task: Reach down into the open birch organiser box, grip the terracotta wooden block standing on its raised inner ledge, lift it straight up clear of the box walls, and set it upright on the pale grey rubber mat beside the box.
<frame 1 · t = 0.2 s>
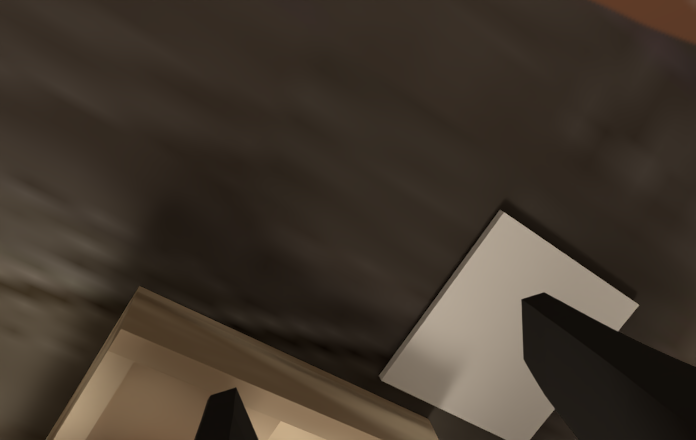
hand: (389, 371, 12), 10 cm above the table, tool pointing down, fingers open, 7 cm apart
grey mat: (510, 337, 26), on the table
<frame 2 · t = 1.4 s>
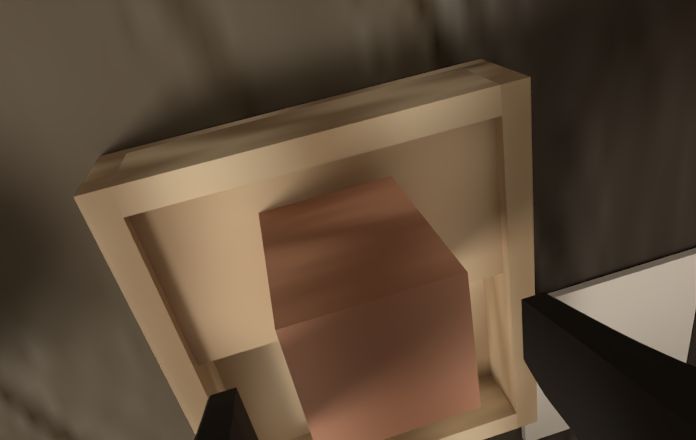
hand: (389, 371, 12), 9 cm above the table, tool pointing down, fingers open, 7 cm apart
organiser box: (341, 284, 22), on the table
terracotta block: (339, 251, 18), point 3 cm above the table, touching organiser box
grey mat: (604, 348, 27), on the table
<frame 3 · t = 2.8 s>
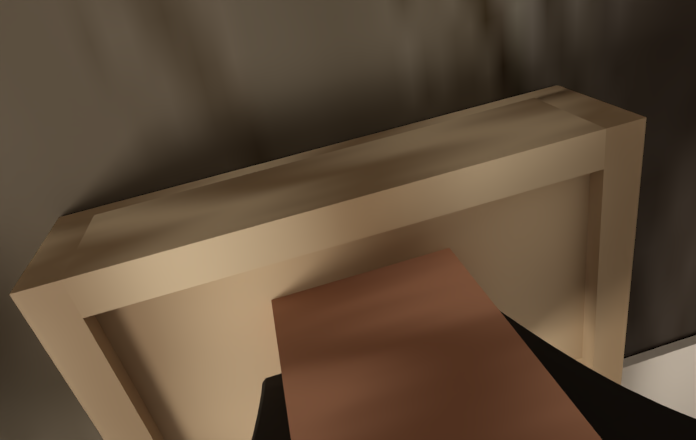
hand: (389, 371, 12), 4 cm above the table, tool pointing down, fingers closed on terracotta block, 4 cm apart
organiser box: (370, 360, 18), on the table
terracotta block: (377, 342, 13), point 3 cm above the table, touching gripper, organiser box
grey mat: (674, 418, 23), on the table
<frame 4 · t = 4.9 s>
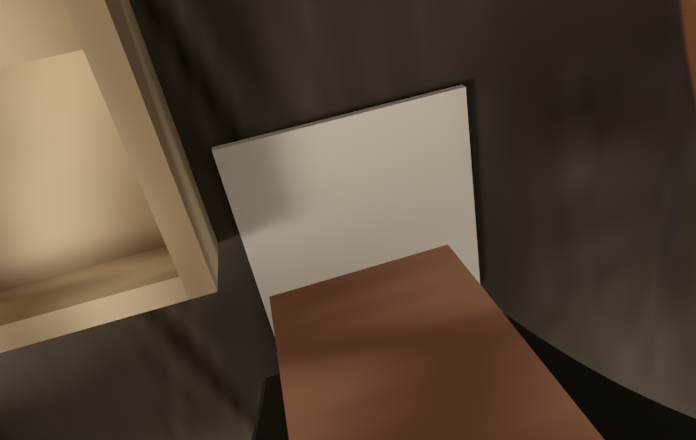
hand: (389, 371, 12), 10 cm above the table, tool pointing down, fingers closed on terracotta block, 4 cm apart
terracotta block: (375, 339, 13), point 9 cm above the table, touching gripper
grey mat: (362, 225, 22), on the table
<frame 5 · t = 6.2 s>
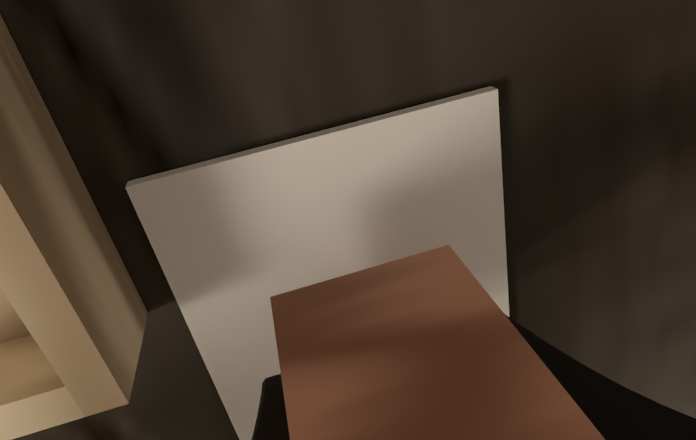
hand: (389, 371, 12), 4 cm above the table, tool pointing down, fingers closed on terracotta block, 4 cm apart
terracotta block: (376, 339, 13), point 3 cm above the table, touching gripper
grey mat: (351, 282, 16), on the table
when the fingers open (3 cm above the table, at t = 7.3 s): terracotta block drops 1 cm, resting on grey mat.
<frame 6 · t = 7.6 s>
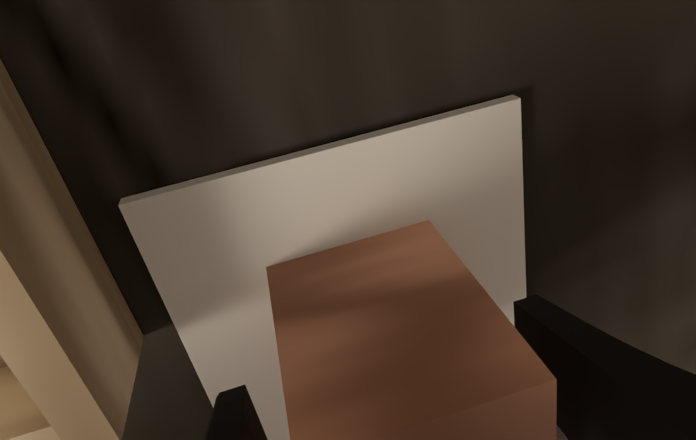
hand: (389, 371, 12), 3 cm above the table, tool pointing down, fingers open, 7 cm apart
terracotta block: (363, 308, 14), resting on grey mat
grey mat: (361, 302, 15), on the table
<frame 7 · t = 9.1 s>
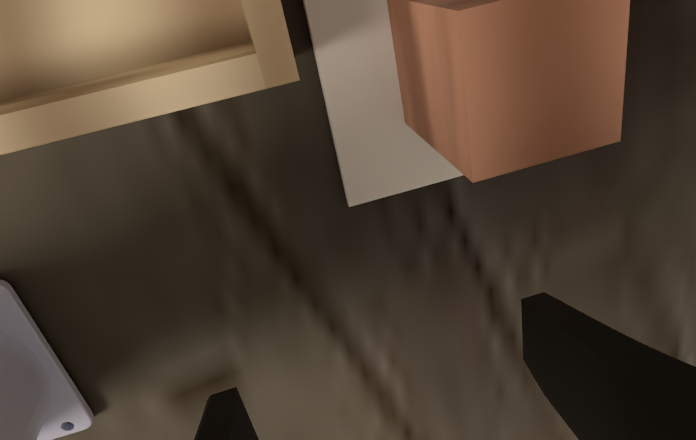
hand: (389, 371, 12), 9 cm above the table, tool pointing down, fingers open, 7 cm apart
terracotta block: (455, 48, 18), resting on grey mat
grey mat: (450, 48, 19), on the table
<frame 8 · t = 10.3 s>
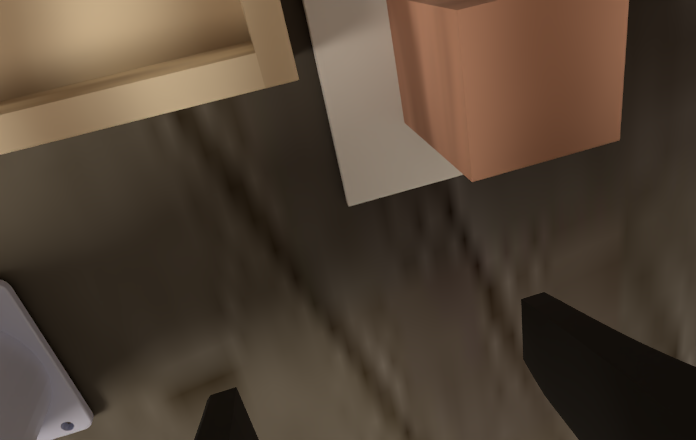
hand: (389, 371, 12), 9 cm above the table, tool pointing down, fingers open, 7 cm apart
terracotta block: (454, 48, 18), resting on grey mat
grey mat: (450, 48, 19), on the table
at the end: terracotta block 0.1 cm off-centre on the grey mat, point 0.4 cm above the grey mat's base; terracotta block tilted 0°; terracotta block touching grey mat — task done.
